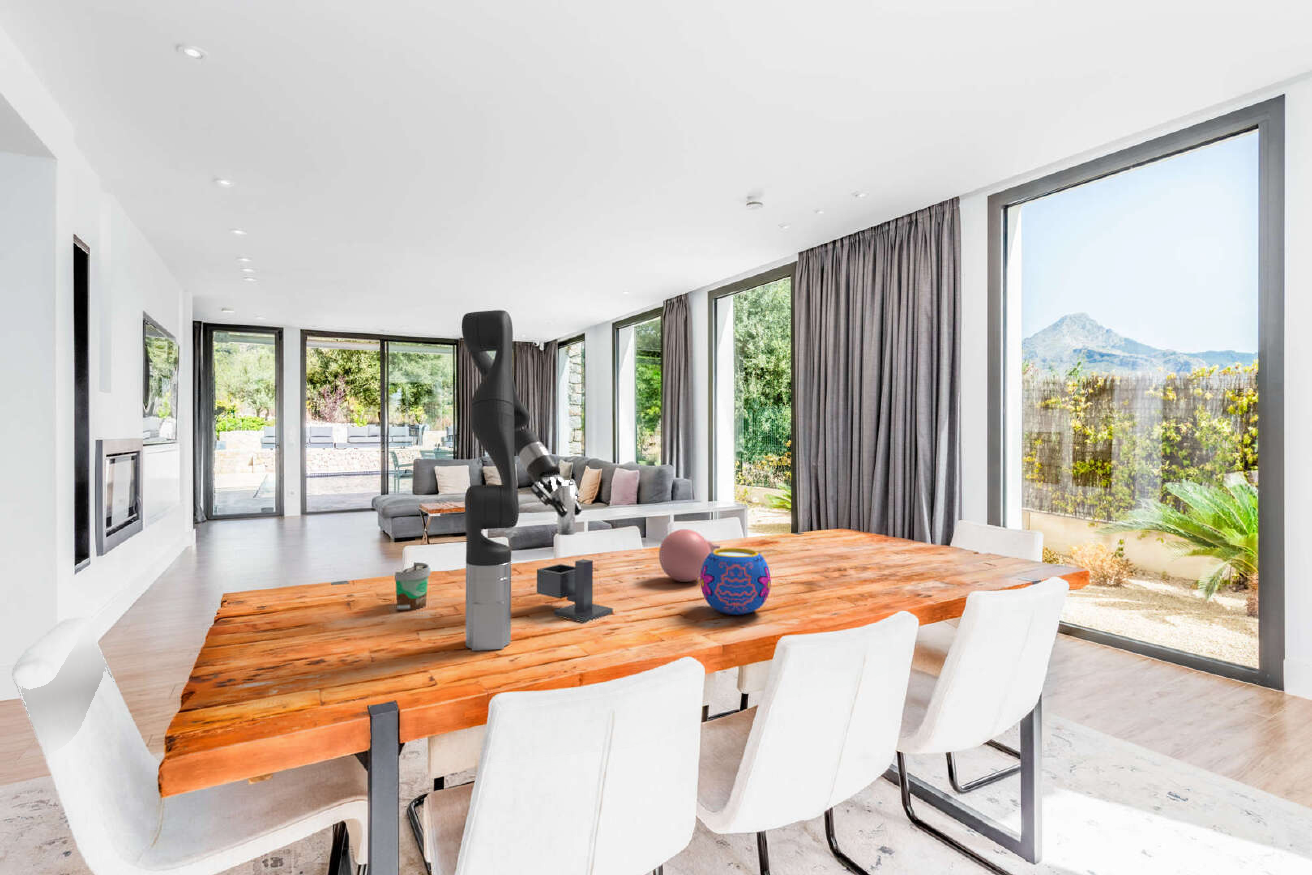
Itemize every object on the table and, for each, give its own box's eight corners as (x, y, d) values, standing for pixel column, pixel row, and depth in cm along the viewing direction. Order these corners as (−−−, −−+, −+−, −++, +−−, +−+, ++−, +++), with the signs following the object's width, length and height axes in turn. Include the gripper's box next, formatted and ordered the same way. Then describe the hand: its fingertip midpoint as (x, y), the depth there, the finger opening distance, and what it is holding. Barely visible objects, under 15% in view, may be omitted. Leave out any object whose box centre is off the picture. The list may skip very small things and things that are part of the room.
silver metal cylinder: (575, 534, 159) (576, 486, 159) (557, 535, 158) (558, 486, 158) (574, 531, 163) (574, 484, 163) (556, 532, 162) (557, 485, 162)
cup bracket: (612, 613, 157) (613, 560, 157) (584, 622, 149) (585, 567, 149) (562, 601, 168) (562, 551, 167) (534, 610, 159) (534, 557, 159)
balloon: (733, 583, 189) (734, 531, 189) (672, 589, 181) (672, 535, 181) (708, 572, 203) (709, 523, 203) (650, 577, 195) (651, 527, 195)
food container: (419, 614, 155) (419, 572, 155) (394, 613, 155) (394, 572, 155) (438, 600, 168) (438, 562, 168) (414, 600, 168) (414, 562, 168)
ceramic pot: (767, 603, 167) (768, 546, 167) (773, 624, 150) (774, 560, 149) (700, 601, 169) (701, 544, 169) (698, 621, 151) (699, 557, 151)
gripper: (524, 454, 159) (558, 507, 152) (566, 453, 171) (599, 501, 164) (510, 474, 163) (543, 527, 155) (552, 471, 174) (584, 520, 167)
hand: (571, 513), depth 160 cm, fingers closed on silver metal cylinder, 4 cm apart
